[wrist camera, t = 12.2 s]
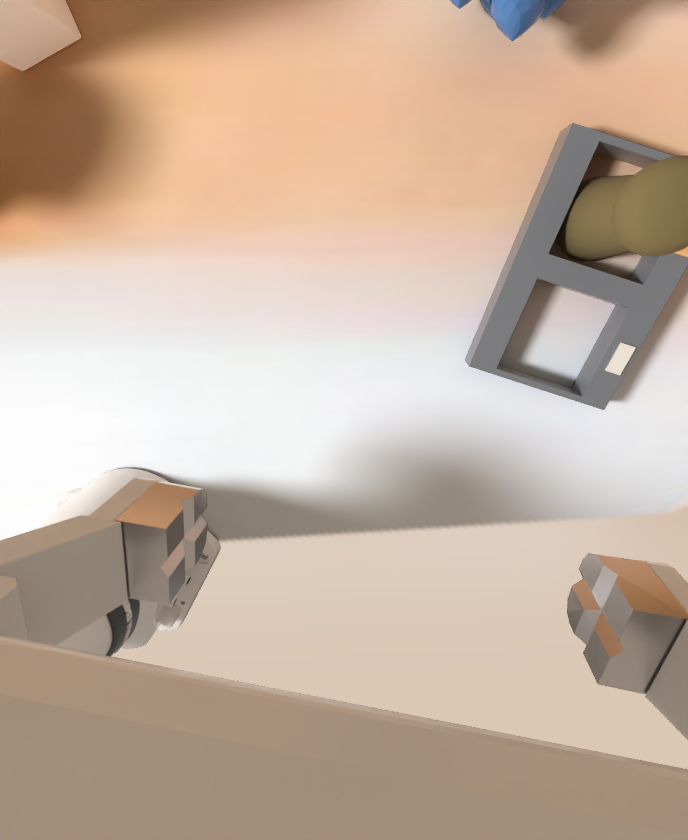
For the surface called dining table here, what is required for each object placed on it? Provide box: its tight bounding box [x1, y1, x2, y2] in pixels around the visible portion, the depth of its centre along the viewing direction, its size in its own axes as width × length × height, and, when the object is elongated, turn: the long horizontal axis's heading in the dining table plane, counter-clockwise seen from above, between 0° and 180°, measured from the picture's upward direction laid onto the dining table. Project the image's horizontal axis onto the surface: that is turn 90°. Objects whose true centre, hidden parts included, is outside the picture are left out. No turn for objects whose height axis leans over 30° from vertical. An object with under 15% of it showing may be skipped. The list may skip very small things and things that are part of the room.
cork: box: [556, 156, 688, 261], centre depth 28 cm, size 6×6×11 cm
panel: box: [465, 123, 688, 410], centre depth 34 cm, size 18×12×3 cm, turn 163°
